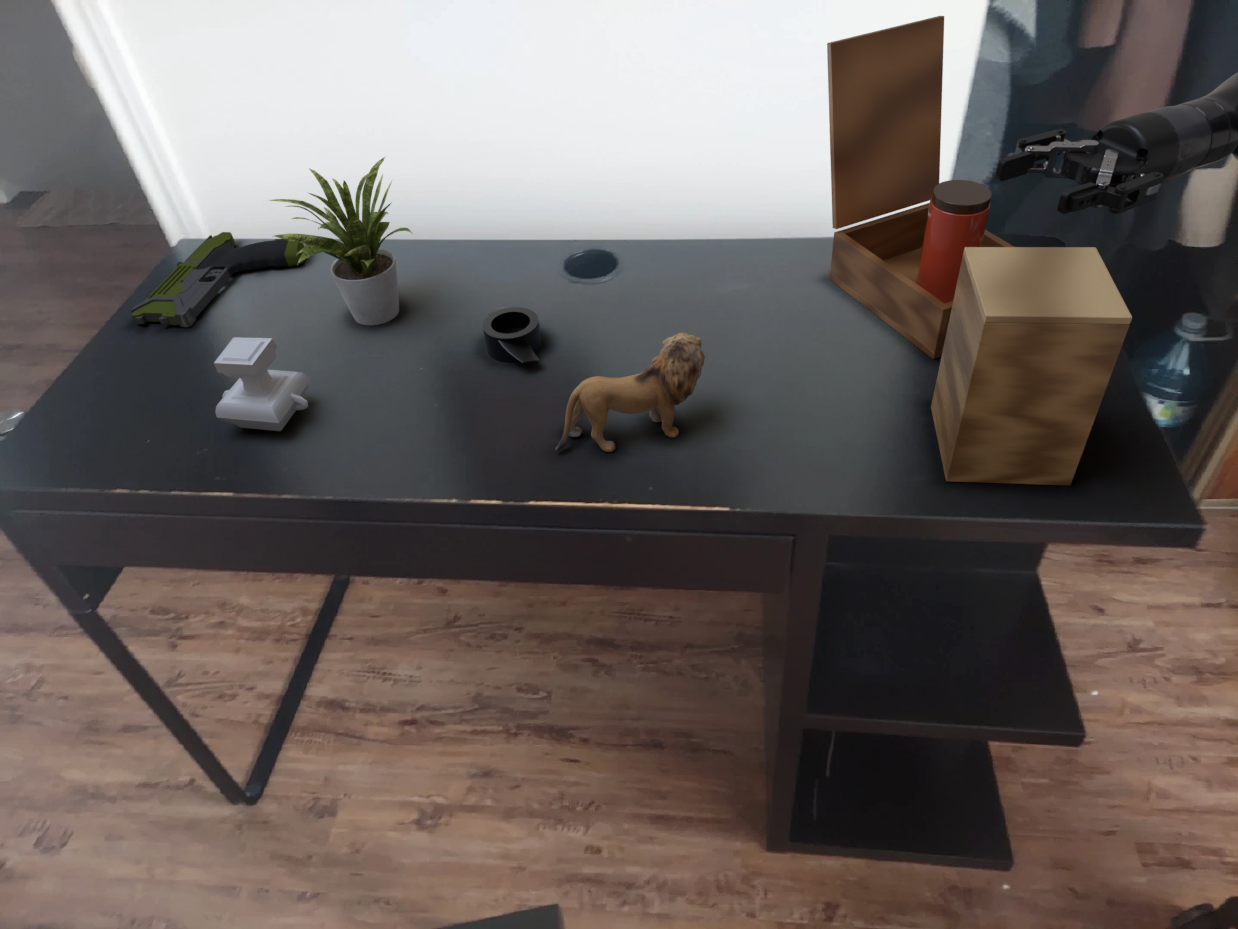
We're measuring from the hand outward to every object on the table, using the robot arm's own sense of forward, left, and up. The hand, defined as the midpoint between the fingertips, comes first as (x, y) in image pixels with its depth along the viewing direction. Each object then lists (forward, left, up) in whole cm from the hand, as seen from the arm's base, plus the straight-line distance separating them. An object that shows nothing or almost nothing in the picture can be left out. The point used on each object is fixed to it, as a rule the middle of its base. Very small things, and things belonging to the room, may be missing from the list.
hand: (1029, 186), depth 92 cm
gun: (+67, +60, -11) cm, 90 cm away
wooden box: (+4, +8, -11) cm, 14 cm away
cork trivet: (-13, +24, +5) cm, 28 cm away
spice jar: (+3, +8, -10) cm, 13 cm away
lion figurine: (+11, +44, -11) cm, 47 cm away
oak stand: (-13, +24, -11) cm, 30 cm away
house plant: (+49, +50, -11) cm, 71 cm away
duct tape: (+31, +44, -11) cm, 55 cm away
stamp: (+39, +68, -11) cm, 79 cm away
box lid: (+14, +5, +4) cm, 15 cm away
